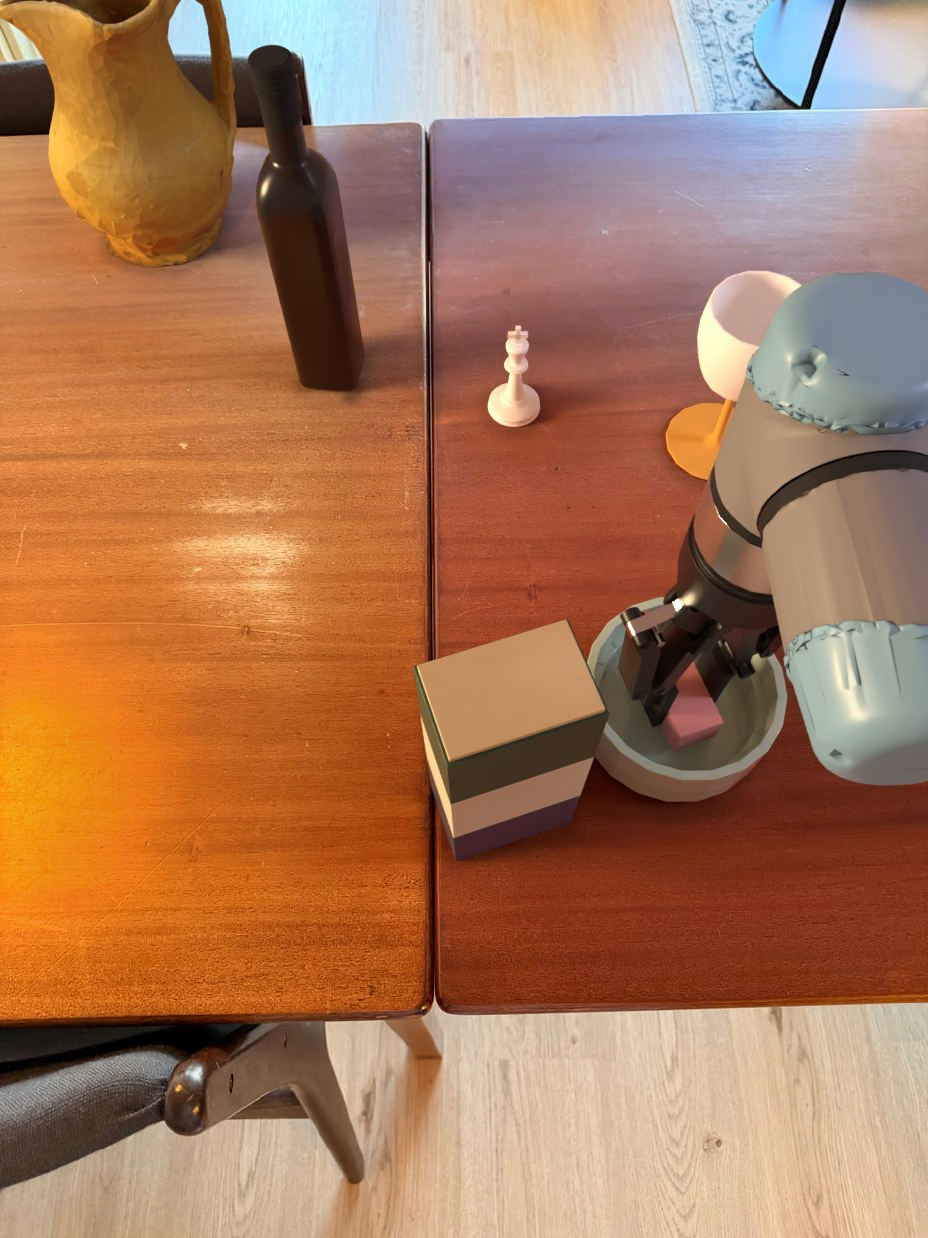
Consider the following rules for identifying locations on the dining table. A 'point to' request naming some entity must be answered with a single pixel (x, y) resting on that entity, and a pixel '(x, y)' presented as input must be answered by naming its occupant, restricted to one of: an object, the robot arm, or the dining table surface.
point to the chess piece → (515, 387)
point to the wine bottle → (305, 234)
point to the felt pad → (509, 690)
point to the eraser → (691, 712)
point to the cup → (725, 361)
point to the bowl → (698, 767)
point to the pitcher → (135, 123)
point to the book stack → (509, 780)
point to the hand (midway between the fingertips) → (675, 701)
